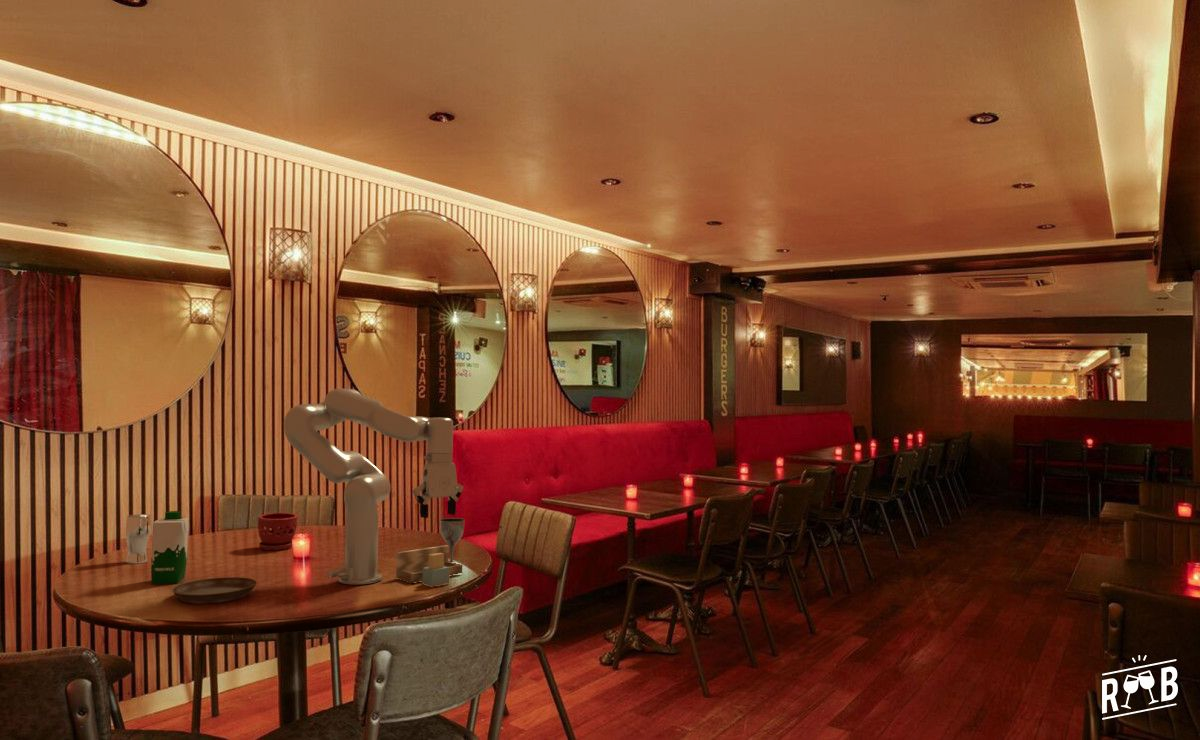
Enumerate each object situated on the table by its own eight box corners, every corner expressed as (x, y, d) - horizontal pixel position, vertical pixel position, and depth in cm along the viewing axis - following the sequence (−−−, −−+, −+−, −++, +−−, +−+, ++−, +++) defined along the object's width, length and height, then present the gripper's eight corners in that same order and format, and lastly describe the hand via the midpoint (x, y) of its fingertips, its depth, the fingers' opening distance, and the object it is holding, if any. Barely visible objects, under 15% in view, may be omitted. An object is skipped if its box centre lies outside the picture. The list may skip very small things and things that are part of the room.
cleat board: (412, 584, 223) (413, 557, 223) (396, 578, 229) (396, 552, 229) (462, 574, 236) (462, 549, 236) (445, 570, 242) (446, 545, 243)
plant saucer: (162, 595, 206) (162, 583, 206) (240, 584, 220) (241, 572, 220) (185, 611, 191) (185, 598, 191) (267, 598, 205) (268, 585, 206)
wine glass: (450, 568, 245) (451, 522, 245) (434, 564, 249) (435, 519, 250) (468, 564, 251) (469, 519, 252) (452, 561, 256) (453, 517, 256)
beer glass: (153, 560, 249) (155, 514, 249) (138, 564, 242) (141, 517, 242) (134, 559, 249) (136, 513, 250) (118, 563, 242) (121, 516, 243)
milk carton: (188, 577, 226) (191, 510, 227) (180, 584, 217) (183, 515, 218) (156, 578, 224) (159, 511, 225) (146, 585, 215) (149, 515, 216)
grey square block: (431, 587, 219) (432, 556, 220) (422, 584, 223) (423, 554, 223) (448, 584, 224) (449, 554, 224) (439, 581, 227) (440, 551, 228)
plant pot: (248, 550, 267) (250, 516, 268) (274, 543, 280) (275, 511, 280) (279, 553, 264) (280, 518, 264) (303, 546, 276) (305, 513, 277)
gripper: (422, 460, 216) (420, 520, 215) (470, 458, 229) (468, 514, 228) (407, 459, 221) (405, 517, 221) (455, 456, 234) (454, 511, 233)
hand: (437, 515), depth 224 cm, fingers open, 9 cm apart
